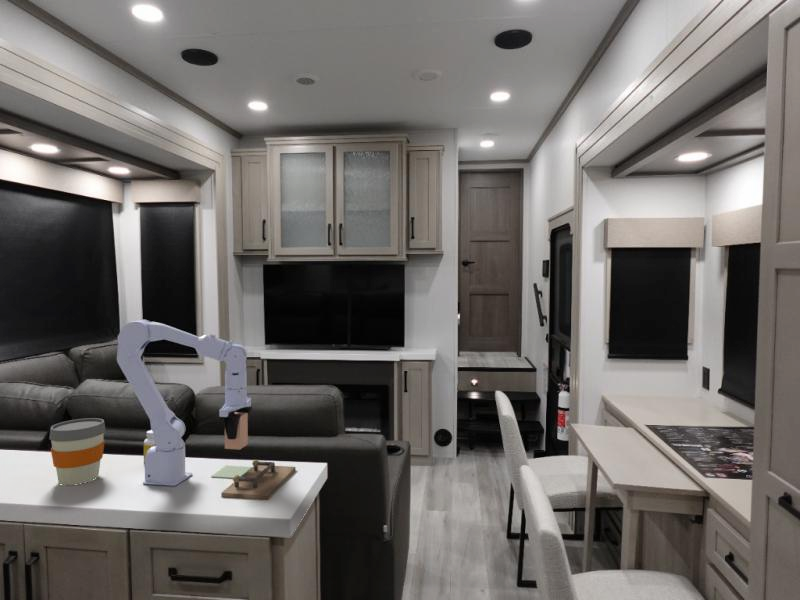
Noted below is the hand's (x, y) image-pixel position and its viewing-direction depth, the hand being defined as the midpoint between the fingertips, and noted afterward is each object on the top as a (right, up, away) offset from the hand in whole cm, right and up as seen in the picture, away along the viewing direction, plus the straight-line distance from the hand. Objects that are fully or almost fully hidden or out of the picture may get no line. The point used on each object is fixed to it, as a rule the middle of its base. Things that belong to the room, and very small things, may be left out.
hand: (236, 436), depth 132 cm
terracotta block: (0, -3, 0) cm, 3 cm away
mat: (-1, -10, 0) cm, 10 cm away
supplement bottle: (-27, -11, +7) cm, 29 cm away
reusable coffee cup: (-41, -11, -4) cm, 43 cm away
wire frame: (+9, -11, -7) cm, 15 cm away
